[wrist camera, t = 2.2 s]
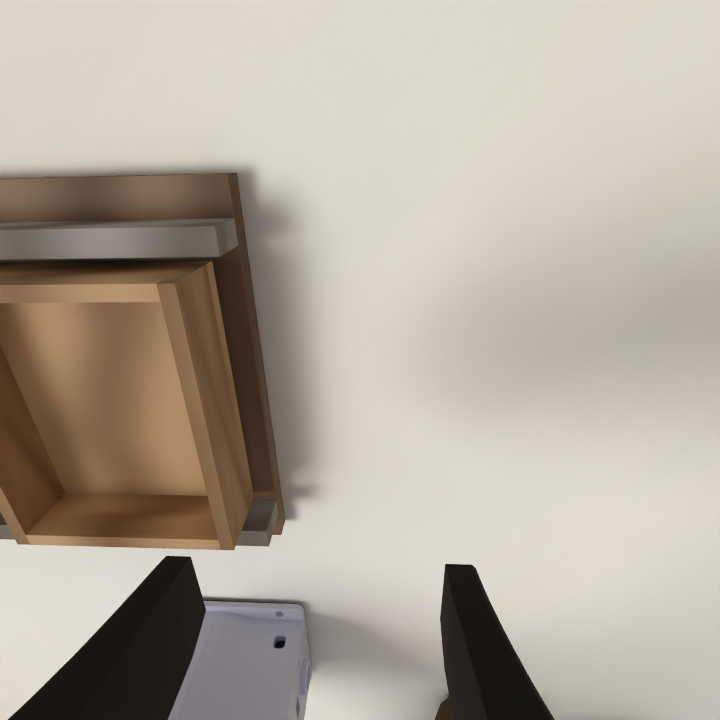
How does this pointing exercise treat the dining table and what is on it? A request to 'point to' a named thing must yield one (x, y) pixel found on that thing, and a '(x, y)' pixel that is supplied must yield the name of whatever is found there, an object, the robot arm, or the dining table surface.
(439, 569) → the dining table surface
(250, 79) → the dining table surface
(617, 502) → the dining table surface
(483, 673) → the robot arm
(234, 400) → the box
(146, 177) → the bay
